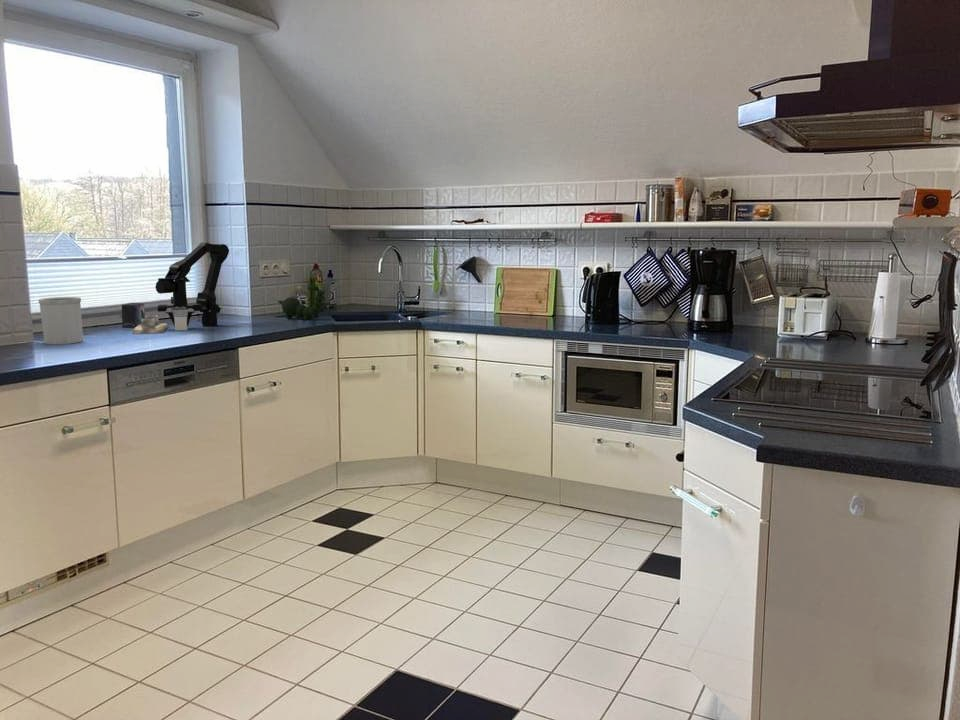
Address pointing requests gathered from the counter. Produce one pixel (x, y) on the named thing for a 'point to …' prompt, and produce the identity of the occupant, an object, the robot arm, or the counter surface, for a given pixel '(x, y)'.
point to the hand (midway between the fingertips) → (181, 326)
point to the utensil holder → (61, 320)
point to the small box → (132, 314)
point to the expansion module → (181, 322)
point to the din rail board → (156, 330)
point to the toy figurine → (303, 306)
